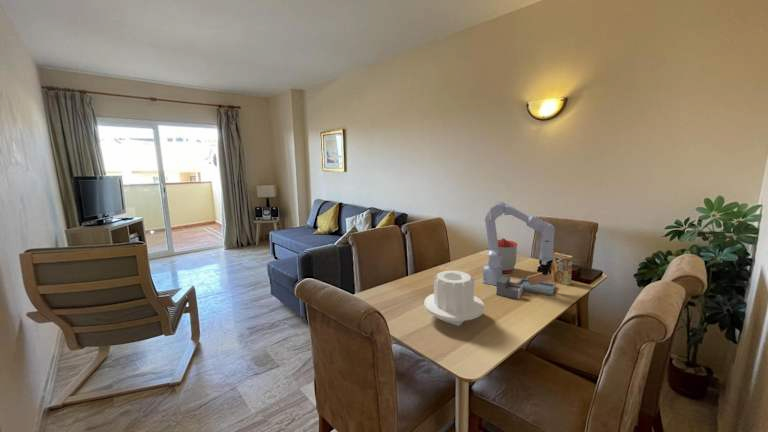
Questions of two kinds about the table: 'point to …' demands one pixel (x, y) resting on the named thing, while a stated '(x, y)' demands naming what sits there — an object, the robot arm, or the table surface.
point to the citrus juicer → (507, 254)
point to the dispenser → (508, 288)
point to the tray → (538, 287)
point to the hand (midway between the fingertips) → (545, 274)
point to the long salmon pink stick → (539, 278)
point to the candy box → (562, 268)
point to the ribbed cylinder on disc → (454, 298)
